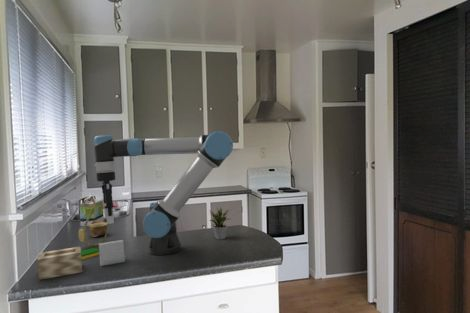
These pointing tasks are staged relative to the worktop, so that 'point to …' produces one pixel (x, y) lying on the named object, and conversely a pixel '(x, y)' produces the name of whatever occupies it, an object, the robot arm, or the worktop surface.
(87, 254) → the dish sponge
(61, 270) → the camouflage slotted box
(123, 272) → the worktop surface
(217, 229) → the house plant
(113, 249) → the grey flat block
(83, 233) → the wall sconce
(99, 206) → the tea box
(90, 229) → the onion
